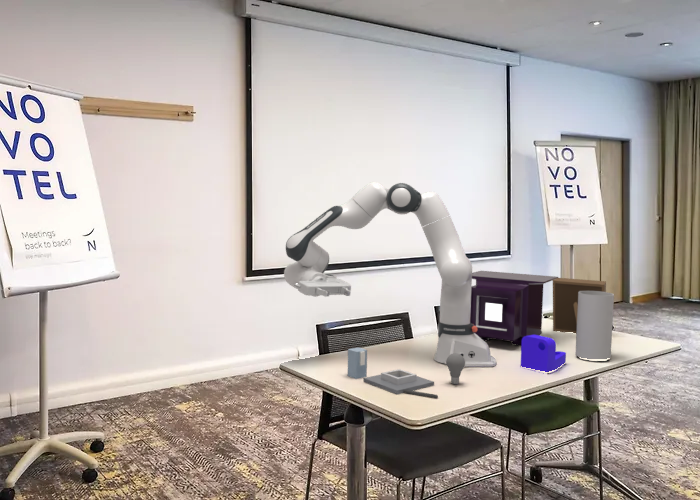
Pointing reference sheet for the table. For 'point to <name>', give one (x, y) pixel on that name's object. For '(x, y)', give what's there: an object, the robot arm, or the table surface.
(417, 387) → the board
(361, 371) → the plug block
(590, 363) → the table surface
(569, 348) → the table surface
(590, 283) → the photo frame
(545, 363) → the bracket
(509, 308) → the dark purple stove
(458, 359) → the light bulb
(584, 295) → the cylinder vase
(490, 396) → the table surface
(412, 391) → the rod
